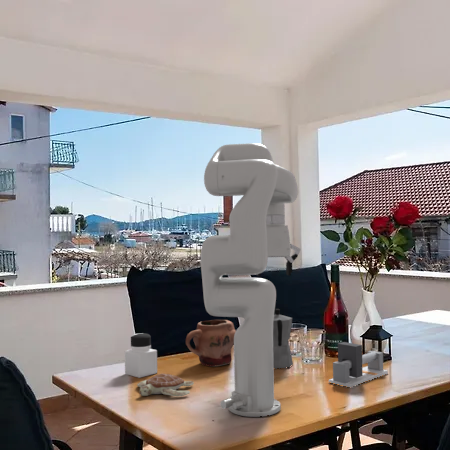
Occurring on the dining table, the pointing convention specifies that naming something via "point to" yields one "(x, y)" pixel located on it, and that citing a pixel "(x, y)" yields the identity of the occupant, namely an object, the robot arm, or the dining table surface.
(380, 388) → the dining table surface
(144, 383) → the decorative turtle
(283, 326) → the coffeepot
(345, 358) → the dark grey sliding block
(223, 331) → the brown clay mug
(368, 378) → the pipe rig
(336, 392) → the dining table surface
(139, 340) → the medicine bottle
